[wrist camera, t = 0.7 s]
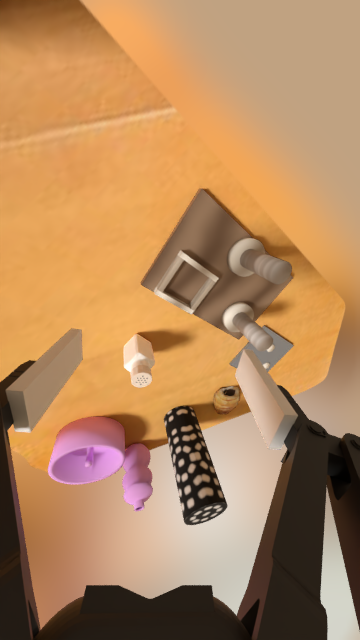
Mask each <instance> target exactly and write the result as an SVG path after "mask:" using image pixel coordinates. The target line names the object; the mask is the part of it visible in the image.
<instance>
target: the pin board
mask: <svg viewBox="0 0 360 640" xmlns="http://www.w3.org/2000/svg"><path fill="white" fill-rule="evenodd" d="M291 271H292V266H291V264H290V263H289V262H287V261H284V260H281V259H278V258H275V257H273V256H271V255H270V254H269V253H268V252H267V251H266V250H265V249H264V246H263V244H262V243H261V242H260V241H258V240H256V239H253V238H252V237H251V236H250V235H249V234H248V233H247V232H246V231H245V230H244V229H243V228H242V227H241V226H240V225H239V224H238V223H237V222H236V221H235V220H234V219H233V218H232V217H231V216H230V215H229V214H228V213H227V212H226V211H225V210H224V209H223V208H222V207H221V206H220V205H218V204H217V203H216V202H215V201H214V200H213V199H212V198H211V197H210V196H209V195H208V194H207V193H206V192H205V191H204V190H203V189H199V190H198V192H197V193H196V195H195V196H194V198H193V200H192V201H191V203H190V205H189V206H188V208H187V209H186V211H185V213H184V214H183V216H182V217H181V219H180V221H179V222H178V224H177V225H176V227H175V229H174V230H173V232H172V233H171V235H170V237H169V238H168V240H167V241H166V243H165V245H164V246H163V248H162V249H161V251H160V253H159V254H158V256H157V257H156V259H155V261H154V262H153V264H152V265H151V267H150V269H149V270H148V272H147V273H146V275H145V277H144V278H143V280H142V281H141V285H142V286H144V287H146V288H148V289H149V290H151V291H153V292H154V293H155V294H156V295H158V296H159V297H161V298H163V299H165V300H167V301H168V302H170V303H172V304H174V305H176V306H177V307H179V308H181V309H183V310H185V311H186V312H188V313H190V314H194V315H196V316H198V317H199V318H201V319H203V320H205V321H207V322H208V323H210V324H212V325H214V326H216V327H217V328H219V329H221V330H223V331H225V332H226V333H228V334H230V335H232V336H233V337H235V338H237V339H240V338H241V337H242V336H243V335H244V336H245V337H246V338H247V339H248V340H249V341H250V343H251V344H252V345H253V346H254V347H255V348H256V349H257V350H258V351H265V350H267V349H269V348H270V347H271V346H272V344H273V338H272V337H271V336H270V335H269V334H268V333H267V332H266V331H265V330H263V329H262V328H261V327H260V326H259V325H258V324H257V323H256V322H255V321H256V320H257V319H258V317H259V316H260V315H261V314H262V313H263V312H264V311H265V309H266V308H267V307H268V306H269V305H270V304H271V303H272V302H273V300H274V299H275V298H276V297H277V296H278V295H279V294H280V292H281V291H282V290H283V289H284V288H285V287H286V286H287V284H288V283H289V282H290V281H291V280H292V279H293V277H292V276H291V275H290V274H291Z"/></svg>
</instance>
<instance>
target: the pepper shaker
mask: <svg viewBox="0 0 360 640" xmlns="http://www.w3.org/2000/svg"><path fill="white" fill-rule="evenodd" d="M154 363H155V359H154V354H153V349H152V345H151V342H150V341H148V340H146V339H145V338H143V337H142V336H140V335H138V334H135V335H134V336H133V337H132V338H131V339H130V340H129V341H128V342H127V343H126V344H125V346H124V367H125V369H126V370H128V371H129V372H131V382H132V384H133V385H134V386H135V387H139V388H141V387H146V386H147V385H149V384H150V383H151V381H152V375H151V368H152V367H153V365H154Z"/></svg>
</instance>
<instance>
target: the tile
mask: <svg viewBox="0 0 360 640" xmlns="http://www.w3.org/2000/svg"><path fill="white" fill-rule="evenodd" d="M262 329H263V330H265V331H266V332H267V333H268V334H269V335H270V336H271V337H272V338H273V344H272V346H271V347H270V348H269V349H267V350H265V351H258V350H257V349H256V348H255V347H254V346H253V345H252V344H251V343H250V341H249V343H248V344H247V345H246V346H245V347H244V348H243V349H247V350H253V352H254V353H255V355H256V356H257V358H258V359H259V360H260V362H261V363H262V365H263V366H264V368H265V369H266V370H267V372H268V371H269V370H270V369H271V368H272V367H273V366H274V365H275V364H276V363H277V362H278V361H279V360H280V359H281V358H282V357H283V356H284V355H285V354H286V353H287V352H288V351H289V350H290V349H291V348H292V347H293V346H294V345H292V344H291V343H290V342H288V341H287V340H285V339H284V338H282V337H281V336H279V335H278V334H276V333H275V332H273V331H272V330H270V329H269V328H267V327H266V326H263V327H262ZM243 349H242V350H241V351H240V352H239V354H238V355H237V356H236V357H235V358H234V359H233V360H232V361H231V362H230V365H231V366H233V367H235V368H238V365H239V362H240V358H241V355H242V352H243Z"/></svg>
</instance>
